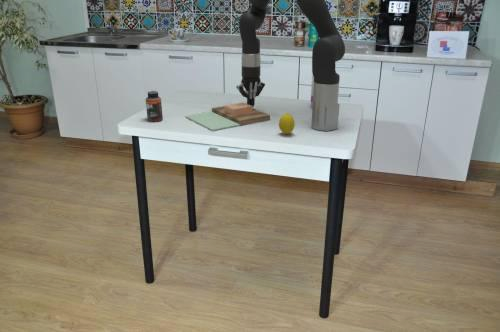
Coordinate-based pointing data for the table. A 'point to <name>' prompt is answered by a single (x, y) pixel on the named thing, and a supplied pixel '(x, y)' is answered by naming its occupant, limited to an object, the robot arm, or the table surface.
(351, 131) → the table surface
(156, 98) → the supplement bottle
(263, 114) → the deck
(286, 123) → the lemon
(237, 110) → the tile
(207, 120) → the mat
